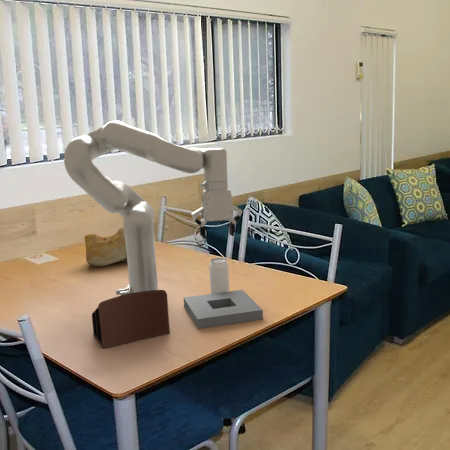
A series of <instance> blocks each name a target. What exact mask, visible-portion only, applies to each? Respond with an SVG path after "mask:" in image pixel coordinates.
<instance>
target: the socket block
mask: <svg viewBox="0 0 450 450" xmlns="http://www.w3.org/2000/svg"><path fill="white" fill-rule="evenodd" d="M183 307H184V308H185V310H186V312H187V313H188V315H189V316H190V318H191V320H192V321H193V323H194V324H195V326H196V329H207V328H213V327H219V326H226V325H232V324H233V325H235V324H238V323H239V324H240V323H245V322H254V321H260V320H264V313H263V312H264V310H263V308H262V307H261V306H260V305H258V303H256V301H255V300H254V299H253V298H252V297H251V296H249V295H248V293H247V292H246V291H245V290H243V289H237V290H229V291H228V292H221V293H213V294H211V293H208V294H207V293H206V294H201V295H199V294H198V295H193V296H192V295H191V296H186V297H185V296H184V297H183Z"/></svg>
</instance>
